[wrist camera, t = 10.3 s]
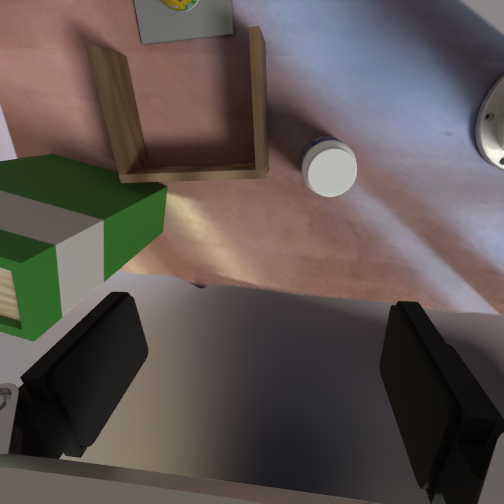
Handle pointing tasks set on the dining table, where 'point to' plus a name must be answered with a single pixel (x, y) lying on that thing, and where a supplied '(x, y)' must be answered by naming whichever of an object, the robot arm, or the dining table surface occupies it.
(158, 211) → the hardback book
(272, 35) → the dining table surface
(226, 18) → the grey mat
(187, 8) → the supplement bottle
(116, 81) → the wooden u-shaped frame
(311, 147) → the pill bottle
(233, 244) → the dining table surface
